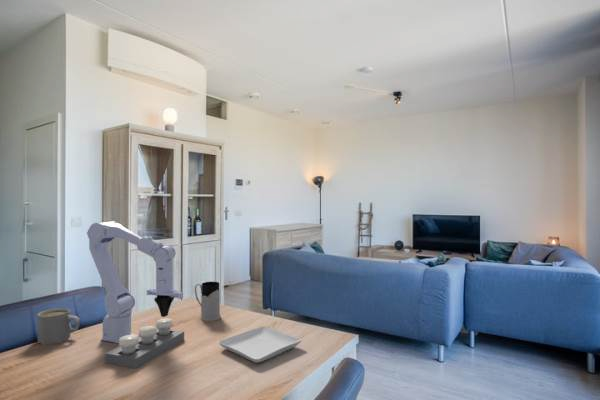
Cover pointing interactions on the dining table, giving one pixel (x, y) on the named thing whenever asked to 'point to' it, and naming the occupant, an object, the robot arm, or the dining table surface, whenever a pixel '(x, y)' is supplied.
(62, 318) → the coffee mug
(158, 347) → the mount
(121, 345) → the knob
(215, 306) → the grey black pitcher
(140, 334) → the knob
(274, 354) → the salad plate
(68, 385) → the dining table surface
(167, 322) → the knob
